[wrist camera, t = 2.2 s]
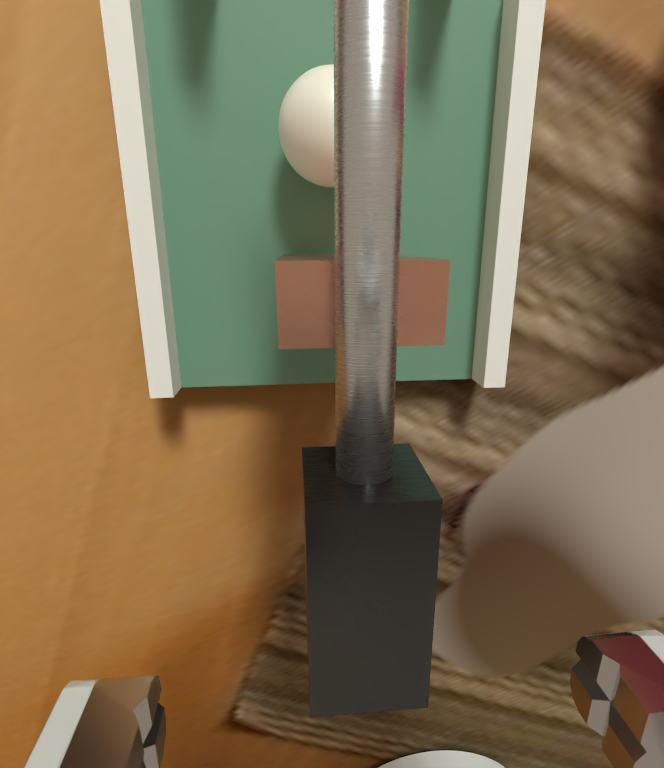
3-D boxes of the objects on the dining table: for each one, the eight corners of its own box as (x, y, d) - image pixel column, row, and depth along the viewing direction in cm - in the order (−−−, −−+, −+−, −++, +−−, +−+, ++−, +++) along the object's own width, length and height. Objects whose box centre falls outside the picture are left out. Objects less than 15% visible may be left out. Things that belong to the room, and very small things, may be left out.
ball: (374, 192, 20) (394, 180, 16) (281, 192, 20) (278, 179, 16) (376, 86, 19) (398, 45, 15) (277, 84, 18) (273, 42, 15)
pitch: (479, 370, 24) (531, 404, 19) (167, 379, 23) (130, 418, 18) (528, -178, 18) (625, -354, 13) (101, -206, 17) (13, -413, 11)
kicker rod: (371, 481, 23) (447, 706, 12) (291, 485, 23) (290, 719, 12) (383, -85, 17) (575, -790, 5) (271, -91, 16) (222, -851, 5)
